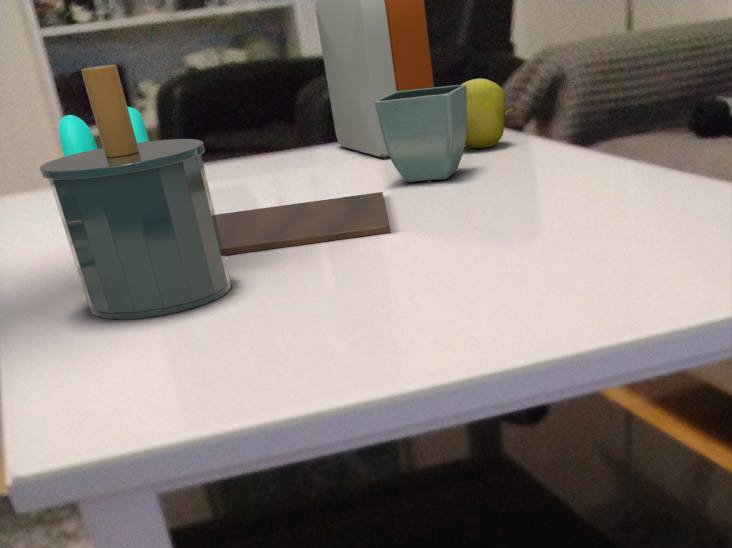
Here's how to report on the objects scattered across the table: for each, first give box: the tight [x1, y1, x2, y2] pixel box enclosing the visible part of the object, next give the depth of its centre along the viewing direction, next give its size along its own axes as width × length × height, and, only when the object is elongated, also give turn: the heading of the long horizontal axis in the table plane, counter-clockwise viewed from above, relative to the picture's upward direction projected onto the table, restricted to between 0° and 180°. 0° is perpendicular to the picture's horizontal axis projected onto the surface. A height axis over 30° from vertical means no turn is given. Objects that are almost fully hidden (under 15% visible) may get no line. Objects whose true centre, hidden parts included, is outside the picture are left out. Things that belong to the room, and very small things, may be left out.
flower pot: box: [374, 84, 467, 183], centre depth 117 cm, size 9×9×9 cm
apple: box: [460, 78, 515, 149], centre depth 131 cm, size 8×9×8 cm
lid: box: [39, 64, 206, 180], centre depth 78 cm, size 13×13×7 cm
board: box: [215, 191, 391, 256], centre depth 104 cm, size 20×18×1 cm
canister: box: [48, 154, 232, 320], centre depth 83 cm, size 12×12×10 cm
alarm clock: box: [315, 0, 435, 159], centre depth 137 cm, size 18×9×21 cm, turn 26°
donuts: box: [58, 106, 150, 157], centre depth 128 cm, size 10×10×10 cm
